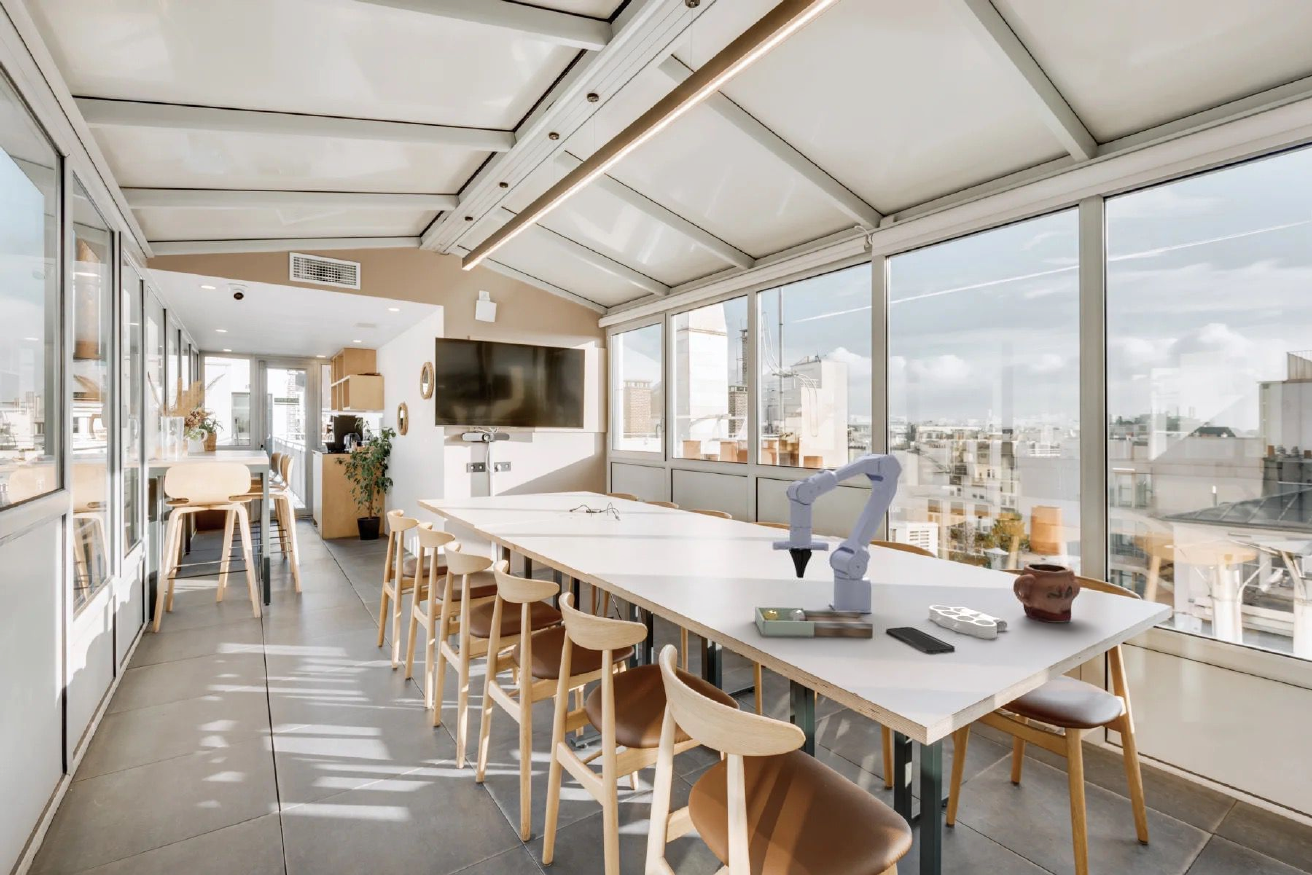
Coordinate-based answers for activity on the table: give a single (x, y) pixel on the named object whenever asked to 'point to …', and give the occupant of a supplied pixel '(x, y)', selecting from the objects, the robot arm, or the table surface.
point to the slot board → (839, 623)
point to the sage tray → (783, 623)
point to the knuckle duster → (967, 621)
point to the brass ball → (770, 616)
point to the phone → (920, 640)
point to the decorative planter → (1047, 591)
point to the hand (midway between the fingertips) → (799, 577)
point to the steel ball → (796, 615)
